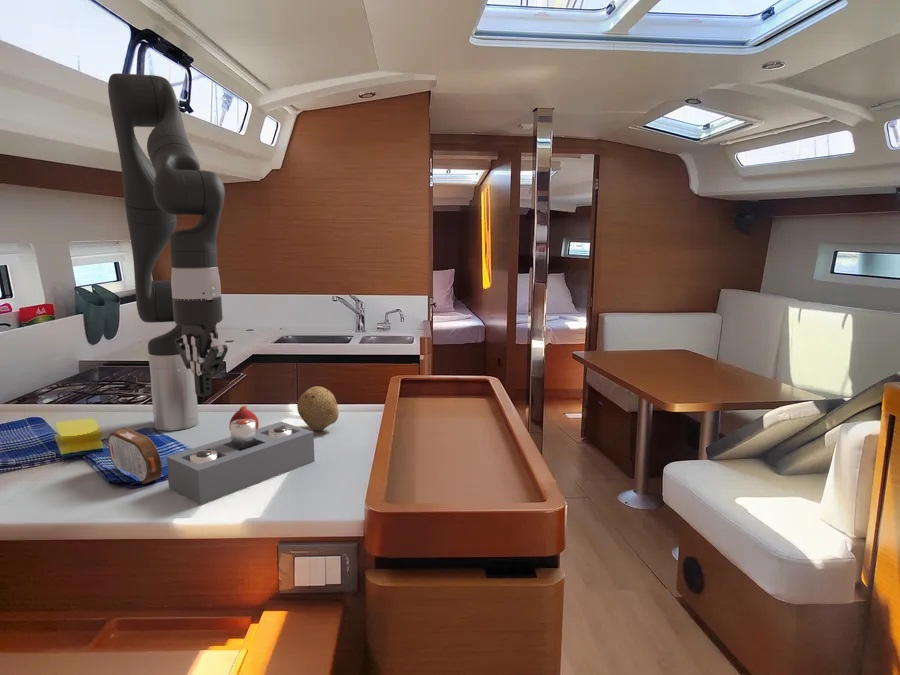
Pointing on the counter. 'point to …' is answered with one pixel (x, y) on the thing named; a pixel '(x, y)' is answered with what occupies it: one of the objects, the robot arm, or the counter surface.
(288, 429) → the knob
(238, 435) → the knob mid
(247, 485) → the mount
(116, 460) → the tin
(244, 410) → the onion
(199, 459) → the knob
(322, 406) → the brown oval lump
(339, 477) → the counter surface
